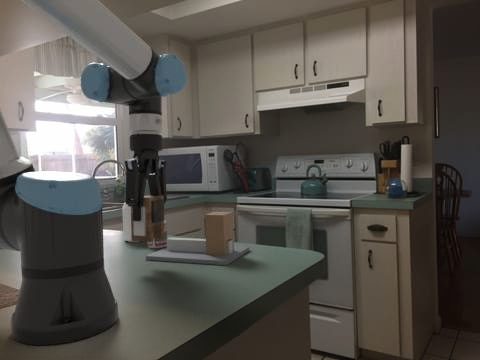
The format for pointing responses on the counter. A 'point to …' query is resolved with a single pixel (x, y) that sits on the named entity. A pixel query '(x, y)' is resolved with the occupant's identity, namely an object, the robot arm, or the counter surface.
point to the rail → (197, 256)
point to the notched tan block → (151, 219)
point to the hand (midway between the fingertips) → (148, 233)
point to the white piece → (127, 223)
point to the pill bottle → (159, 242)
